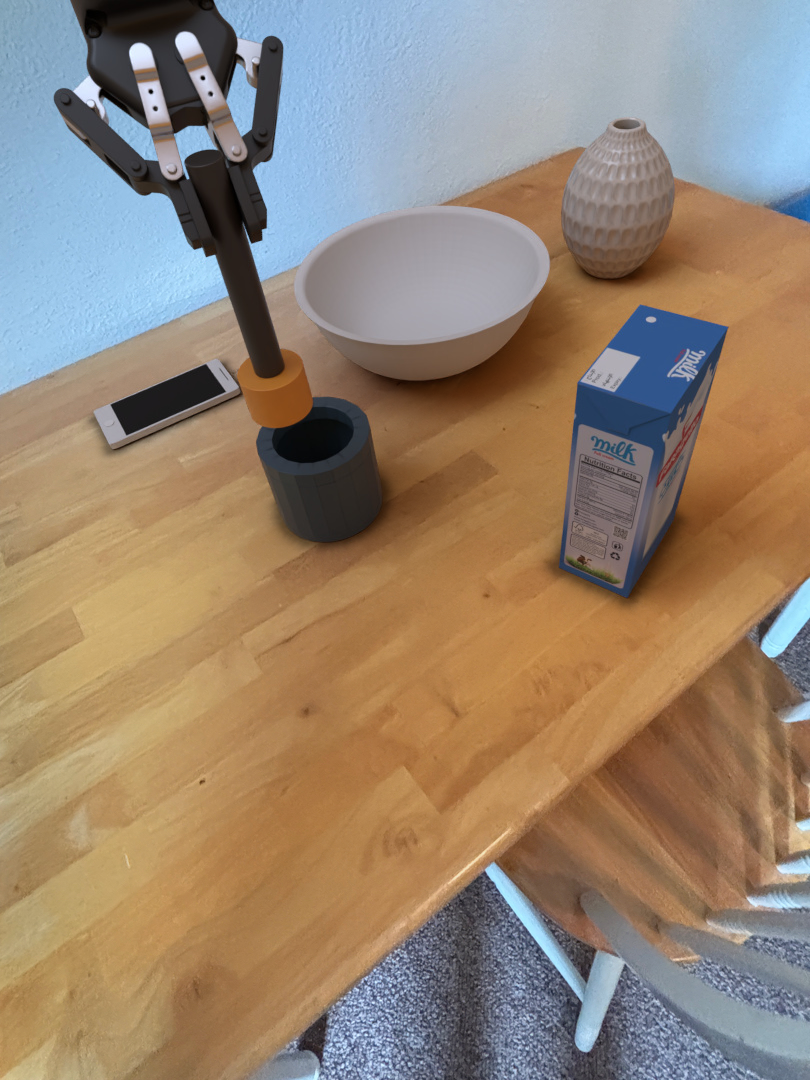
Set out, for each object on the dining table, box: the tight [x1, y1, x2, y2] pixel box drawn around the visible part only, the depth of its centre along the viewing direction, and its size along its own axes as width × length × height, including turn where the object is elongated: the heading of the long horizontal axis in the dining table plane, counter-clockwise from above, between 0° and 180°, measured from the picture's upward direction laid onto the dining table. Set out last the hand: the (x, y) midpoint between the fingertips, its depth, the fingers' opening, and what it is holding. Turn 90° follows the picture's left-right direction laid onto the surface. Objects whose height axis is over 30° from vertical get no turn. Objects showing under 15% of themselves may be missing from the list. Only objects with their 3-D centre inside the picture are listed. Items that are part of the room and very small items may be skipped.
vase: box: [560, 116, 676, 280], centre depth 83 cm, size 13×13×17 cm
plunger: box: [183, 148, 313, 428], centre depth 46 cm, size 5×5×18 cm
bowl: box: [293, 205, 551, 381], centre depth 79 cm, size 27×27×10 cm
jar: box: [255, 396, 384, 543], centre depth 65 cm, size 10×10×9 cm
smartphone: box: [93, 358, 242, 450], centre depth 81 cm, size 7×15×1 cm, turn 121°
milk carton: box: [558, 304, 729, 599], centre depth 54 cm, size 10×6×20 cm, turn 145°
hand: (233, 243), depth 41 cm, fingers closed on plunger
